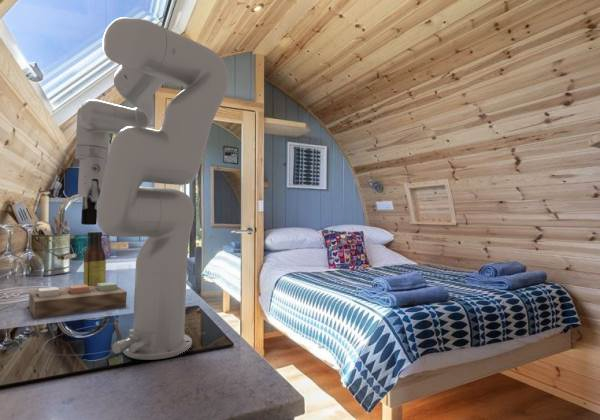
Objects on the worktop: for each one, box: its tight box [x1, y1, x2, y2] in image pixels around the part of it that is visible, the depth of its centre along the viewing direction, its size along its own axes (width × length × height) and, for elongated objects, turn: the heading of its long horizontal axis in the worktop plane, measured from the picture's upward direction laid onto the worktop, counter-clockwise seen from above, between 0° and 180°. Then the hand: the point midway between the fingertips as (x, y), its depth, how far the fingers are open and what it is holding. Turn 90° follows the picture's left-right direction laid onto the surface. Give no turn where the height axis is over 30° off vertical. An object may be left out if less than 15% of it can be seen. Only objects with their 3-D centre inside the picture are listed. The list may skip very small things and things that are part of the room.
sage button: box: [97, 281, 118, 291], centre depth 105 cm, size 4×4×3 cm
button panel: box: [28, 285, 128, 319], centre depth 100 cm, size 21×14×4 cm, turn 131°
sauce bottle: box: [83, 231, 107, 286], centre depth 117 cm, size 6×6×20 cm
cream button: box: [37, 286, 60, 298], centre depth 96 cm, size 4×4×3 cm
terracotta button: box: [68, 283, 89, 294], centre depth 100 cm, size 4×4×3 cm
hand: (88, 224), depth 95 cm, fingers closed
